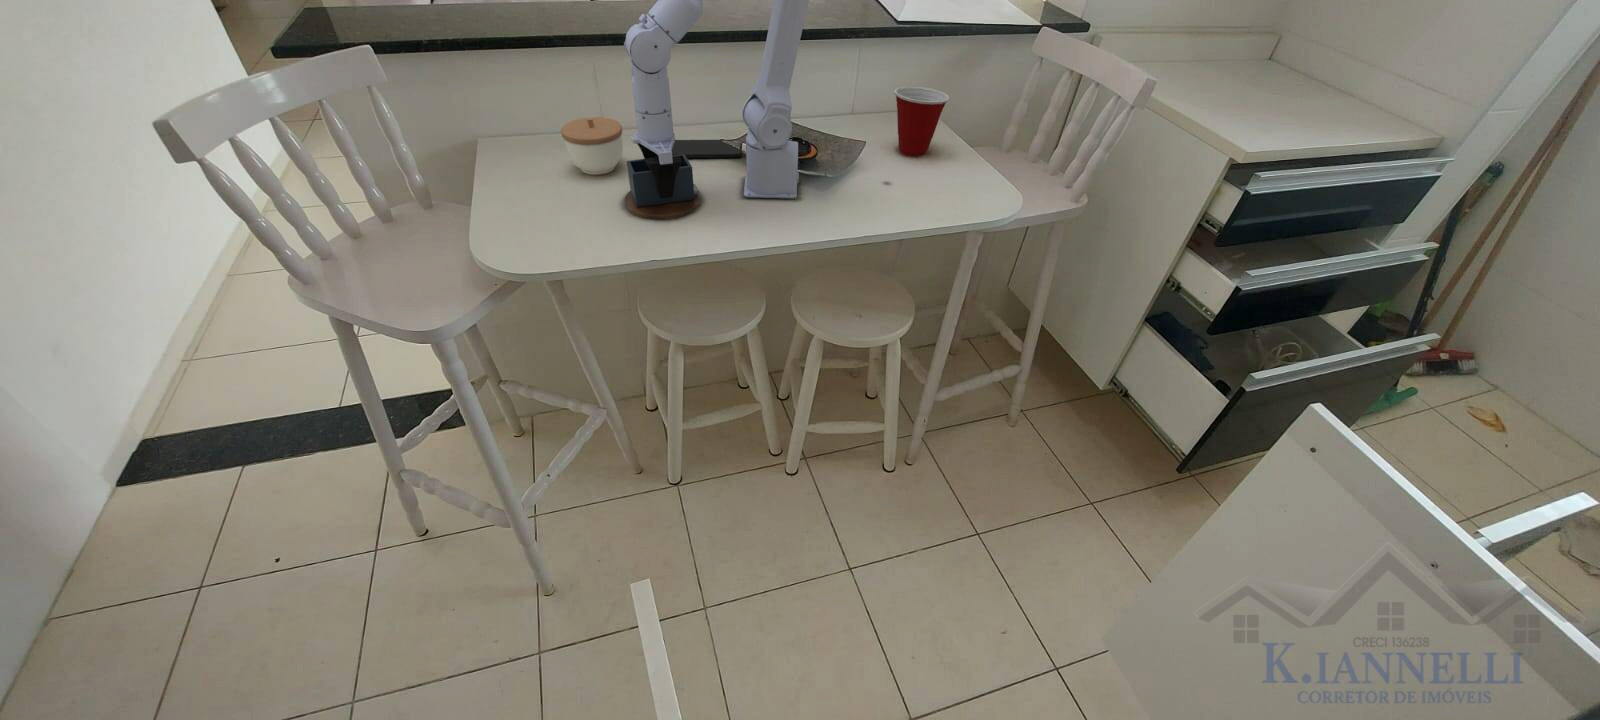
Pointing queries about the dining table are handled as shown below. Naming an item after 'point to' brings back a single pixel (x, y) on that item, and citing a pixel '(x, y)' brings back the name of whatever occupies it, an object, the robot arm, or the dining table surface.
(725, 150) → the phone
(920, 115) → the plastic cup
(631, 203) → the disc
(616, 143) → the trinket box
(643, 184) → the bin
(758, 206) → the dining table surface
